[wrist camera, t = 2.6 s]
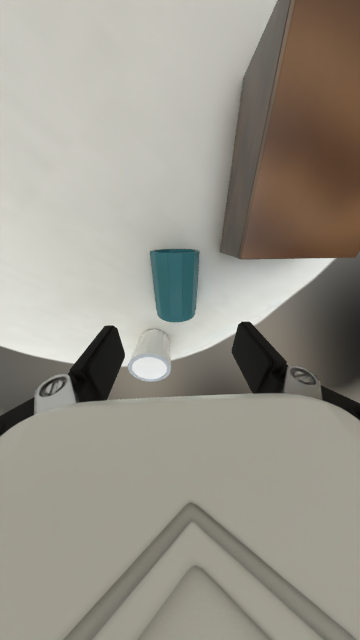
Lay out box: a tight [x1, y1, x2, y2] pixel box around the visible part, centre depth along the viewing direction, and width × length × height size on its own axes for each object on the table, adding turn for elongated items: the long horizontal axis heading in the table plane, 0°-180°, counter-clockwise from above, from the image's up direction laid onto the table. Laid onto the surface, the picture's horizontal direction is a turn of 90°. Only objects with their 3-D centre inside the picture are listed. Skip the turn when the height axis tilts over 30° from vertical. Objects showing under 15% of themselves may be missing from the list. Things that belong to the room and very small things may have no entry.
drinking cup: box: [150, 249, 199, 322], centre depth 19 cm, size 8×6×6 cm
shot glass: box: [128, 329, 171, 382], centre depth 24 cm, size 7×7×7 cm
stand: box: [220, 0, 360, 259], centre depth 13 cm, size 14×12×7 cm
